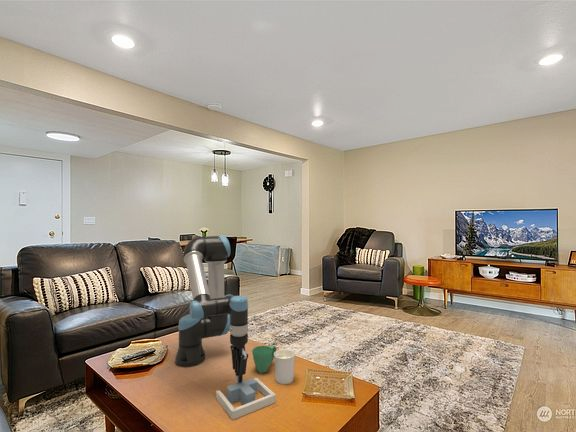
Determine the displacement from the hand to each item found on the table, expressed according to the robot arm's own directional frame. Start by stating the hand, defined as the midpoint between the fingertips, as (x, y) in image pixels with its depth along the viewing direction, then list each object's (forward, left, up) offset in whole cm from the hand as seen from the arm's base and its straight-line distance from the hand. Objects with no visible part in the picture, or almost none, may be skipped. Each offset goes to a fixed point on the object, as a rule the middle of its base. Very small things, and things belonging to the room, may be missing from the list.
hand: (239, 388), depth 130 cm
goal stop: (+6, 0, -2) cm, 6 cm away
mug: (-12, +20, -2) cm, 23 cm away
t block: (+5, 0, -2) cm, 5 cm away
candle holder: (+2, +22, -2) cm, 22 cm away
